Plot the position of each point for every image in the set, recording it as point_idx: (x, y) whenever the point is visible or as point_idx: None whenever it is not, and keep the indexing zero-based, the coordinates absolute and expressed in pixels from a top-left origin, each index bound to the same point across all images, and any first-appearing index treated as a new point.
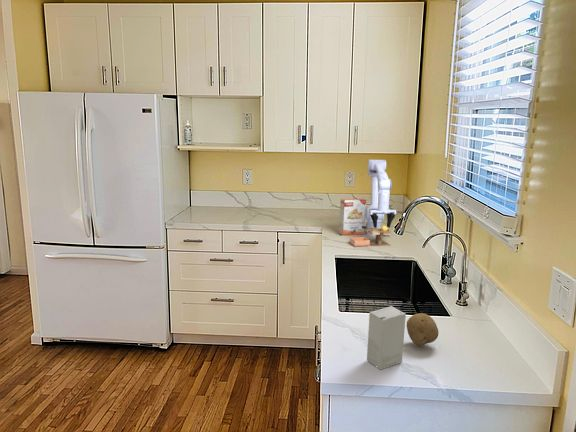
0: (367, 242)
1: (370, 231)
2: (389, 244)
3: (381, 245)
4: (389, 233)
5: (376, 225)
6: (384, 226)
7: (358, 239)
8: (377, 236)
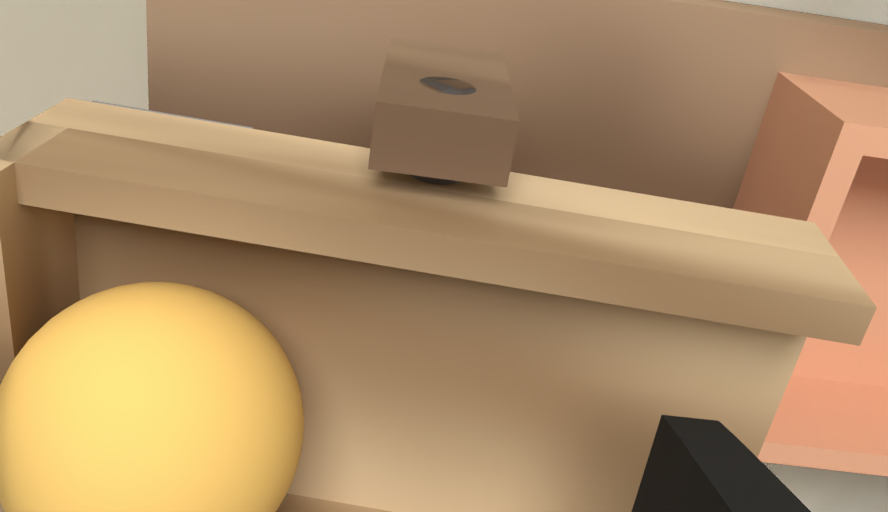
0: (883, 112)
1: (766, 433)
2: (154, 42)
3: (436, 8)
4: (53, 128)
5: (734, 496)
6: (145, 474)
7: (878, 422)
8: None
